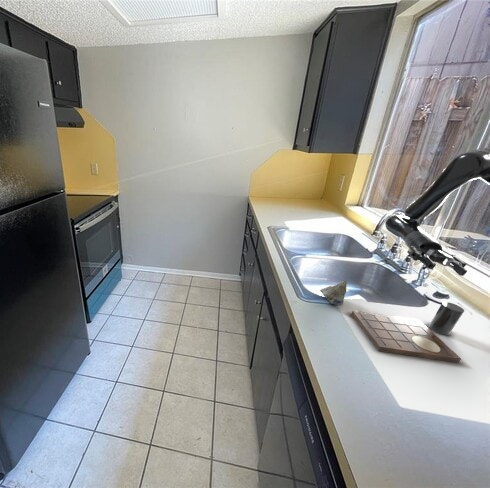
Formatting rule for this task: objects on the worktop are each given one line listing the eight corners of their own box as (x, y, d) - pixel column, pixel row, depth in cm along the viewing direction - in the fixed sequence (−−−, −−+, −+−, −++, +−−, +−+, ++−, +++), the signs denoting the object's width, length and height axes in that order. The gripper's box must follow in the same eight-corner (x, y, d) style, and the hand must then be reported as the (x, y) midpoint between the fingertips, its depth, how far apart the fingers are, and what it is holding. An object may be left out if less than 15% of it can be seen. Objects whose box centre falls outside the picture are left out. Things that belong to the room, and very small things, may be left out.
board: (416, 323, 84) (419, 319, 84) (458, 362, 70) (461, 358, 69) (350, 314, 87) (352, 310, 86) (378, 350, 73) (380, 346, 72)
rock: (319, 286, 100) (346, 276, 93) (328, 299, 99) (356, 290, 93) (314, 300, 91) (344, 290, 85) (325, 314, 91) (355, 305, 84)
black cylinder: (441, 325, 84) (455, 303, 80) (453, 336, 79) (469, 312, 75) (424, 323, 84) (438, 300, 80) (436, 333, 80) (450, 310, 76)
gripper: (406, 231, 95) (430, 255, 82) (451, 240, 92) (483, 266, 79) (394, 248, 99) (415, 273, 86) (437, 257, 97) (465, 284, 83)
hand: (448, 270), depth 83 cm, fingers open, 8 cm apart
